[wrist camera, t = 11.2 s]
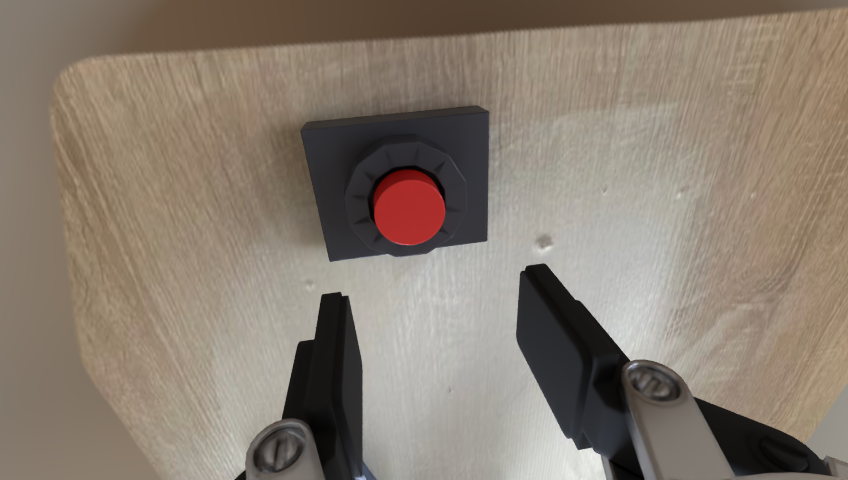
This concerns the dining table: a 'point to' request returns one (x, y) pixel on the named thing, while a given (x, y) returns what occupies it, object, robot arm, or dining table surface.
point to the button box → (391, 151)
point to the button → (408, 207)
